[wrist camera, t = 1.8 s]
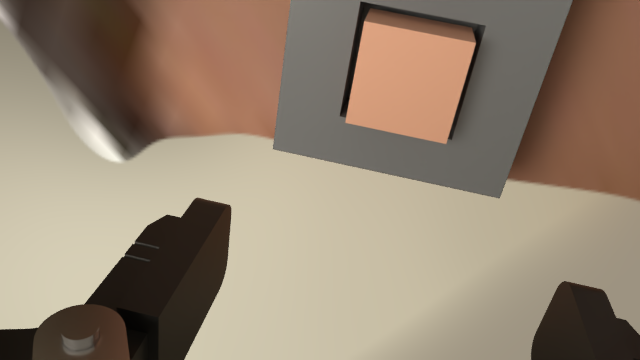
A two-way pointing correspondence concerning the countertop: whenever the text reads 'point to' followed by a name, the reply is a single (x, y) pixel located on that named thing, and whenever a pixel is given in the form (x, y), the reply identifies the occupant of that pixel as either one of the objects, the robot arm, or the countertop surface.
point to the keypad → (474, 104)
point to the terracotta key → (409, 75)
